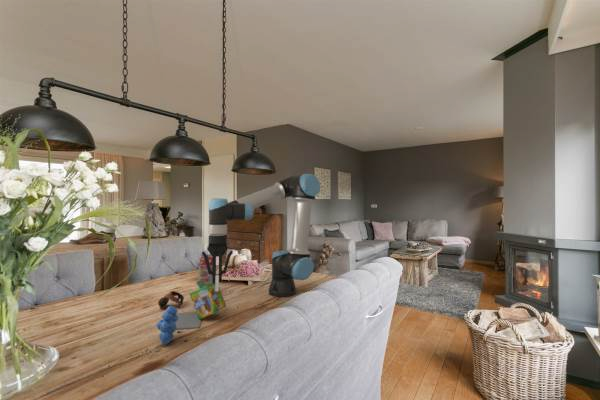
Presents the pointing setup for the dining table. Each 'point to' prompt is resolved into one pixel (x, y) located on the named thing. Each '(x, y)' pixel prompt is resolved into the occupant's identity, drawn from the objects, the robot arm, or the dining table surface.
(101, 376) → the dining table surface
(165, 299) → the brown ring
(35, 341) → the dining table surface
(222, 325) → the dining table surface
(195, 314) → the mat
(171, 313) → the grapes
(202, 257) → the juice carton
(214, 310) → the chalk box
